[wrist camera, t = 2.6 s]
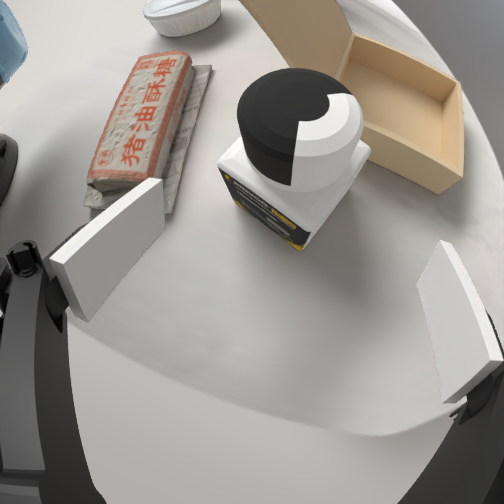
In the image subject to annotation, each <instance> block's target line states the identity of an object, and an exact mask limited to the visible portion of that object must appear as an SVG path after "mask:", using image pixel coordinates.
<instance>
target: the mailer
mask: <svg viewBox="0 0 504 504" xmlns="http://www.w3.org/2000/svg"><path fill="white" fill-rule="evenodd" d="M239 1H240V2H241V3H242V5H243V6H244V7H245V8H246V9H247V10H248V12H249V13H250V14H251V15H252V17H253V18H254V19H255V20H256V21H257V23H258V24H259V25H260V27H261V28H262V29H263V30H264V32H265V33H266V34H267V36H268V37H269V38H270V40H271V41H272V42H273V44H274V45H275V47H276V48H277V49H278V51H279V52H280V53H281V55H282V56H283V58H284V59H285V61H286V62H287V64H288V65H289V67H290V68H304V69H311V70H315V71H318V72H321V73H324V74H326V75H329V76H331V77H333V78H334V79H336V80H337V81H339V82H340V83H341V84H343V85H344V86H345V87H346V88H347V89H348V90H349V91H350V92H351V93H352V94H353V96H354V97H355V98H356V100H357V102H358V103H359V105H360V108H361V110H362V114H363V122H364V125H363V131H362V134H361V137H360V140H361V141H363V142H364V143H365V144H367V145H368V146H369V147H370V148H371V153H370V155H369V157H368V159H367V160H369V161H371V162H373V163H375V164H378V165H380V166H382V167H384V168H386V169H388V170H391V171H393V172H395V173H397V174H399V175H401V176H403V177H405V178H407V179H409V180H411V181H413V182H415V183H417V184H419V185H420V186H422V187H424V188H426V189H428V190H430V191H432V192H433V193H435V194H437V195H440V194H441V193H442V192H444V191H445V190H447V189H448V188H449V187H451V186H452V185H454V184H455V183H456V182H458V181H459V180H460V179H462V178H463V168H464V117H463V102H462V91H461V83H460V82H458V81H457V80H455V79H454V78H452V77H450V76H449V75H447V74H445V73H443V72H442V71H440V70H438V69H436V68H435V67H433V66H431V65H429V64H427V63H425V62H423V61H421V60H419V59H417V58H415V57H413V56H411V55H409V54H407V53H405V52H402V51H400V50H398V49H396V48H393V47H391V46H389V45H386V44H384V43H381V42H379V41H376V40H373V39H371V38H368V37H365V36H362V35H359V34H356V33H353V32H352V31H351V28H350V26H349V24H348V22H347V20H346V18H345V16H344V14H343V12H342V11H341V9H340V7H339V5H338V3H337V1H336V0H239Z"/></svg>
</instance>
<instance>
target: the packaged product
mask: <svg viewBox="0 0 504 504" xmlns="http://www.w3.org/2000/svg"><path fill="white" fill-rule="evenodd" d="M191 64H192V61H191V58H190V56H189V54H188V53H185V52H180V51H177V50H173V51H171V52H164V53H154V54H149V55H144V56H141V57H139V59H138V61H137V62H136V64H135V66H134V67H133V69H132V71H131V73H130V74H129V77H128V79H127V81H126V83H125V84H124V86H123V89H122V90H121V92H120V94H119V96H118V98H117V100H116V102H115V105H114V108H113V109H112V111H111V113H110V116H109V119H108V121H107V123H106V126H105V128H104V131H103V134H102V136H101V138H100V141H99V144H98V146H97V149H96V152H95V156H94V158H93V160H92V162H91V165H90V169H89V171H88V176H87V185H88V189H87V193H86V197H85V200H84V203H83V206H87V207H91V208H95V209H107V208H108V207H110V206H111V205H112V204H114V203H115V202H116V201H117V200H119V199H120V198H121V197H123V196H124V195H125V194H127V193H128V192H130V191H131V190H132V189H134V188H135V187H136V186H138V185H139V184H141V183H142V182H144V181H145V180H146V179H148V178H156V179H163V196H164V212H165V214H172V210H173V206H174V202H175V198H176V194H177V190H178V185H179V181H180V176H181V172H182V166H183V161H184V158H185V154H186V151H187V148H188V144H189V141H190V138H191V134H192V130H193V128H194V125H195V122H196V120H197V115H198V113H199V108H200V102H201V99H202V97H203V94H204V91H205V88H206V85H207V82H208V79H209V75H210V71H211V69H212V65H197V66H192V65H191Z"/></svg>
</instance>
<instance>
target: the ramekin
mask: <svg viewBox="0 0 504 504" xmlns="http://www.w3.org/2000/svg"><path fill="white" fill-rule="evenodd" d="M220 13H221V0H150V1H148V2H147V3H146V5H145V6H144V8H143V15H144V17H145V18H146V19H147V20H149V21H150V23H151V24H152V25H153V27H154V28H155V29H156V30H157V32H159V33H160V34H162V35H165V36H168V37H180V36H186V35H190V34H193V33H196V32H199V31H201V30H203V29H205V28H207V27H209V26H210V25H212V24H213V23H214V22H215V21H216V20H217V19H218V17H219V16H220Z"/></svg>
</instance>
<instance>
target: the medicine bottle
mask: <svg viewBox="0 0 504 504" xmlns="http://www.w3.org/2000/svg"><path fill="white" fill-rule="evenodd" d="M237 119H238V124H239V128H240V132H241V136H240V137H239V138H238V139H237V140H236V141H235V142H234V144H233V145H232V146H231V147H230V148H229V149H228V150H227V151H226V152H225V153H224V154H223V155H222V156H221V157H220V158H219V160H218V161H217V166H218V168H219V170H220V173H221V175H222V177H223V179H224V181H225V183H226V185H227V188H228V190H229V192H230V194H231V196H232V198H233V200H234V202H235V203H237V204H238V205H239V206H241V207H242V208H243V209H245V210H246V211H247V212H249V213H250V214H251V215H253V216H254V217H255V218H257V219H258V220H259V221H261V222H262V223H263V224H265V225H266V226H267V227H269V228H270V229H271V230H273V231H274V232H275V233H276V234H278V235H279V236H280V237H282V238H283V239H284V240H286V241H287V242H288V243H289V244H291V245H292V246H293V247H295V248H296V249H297V250H299V251H301V250H303V249H304V248H305V247H306V246H307V244H308V243H309V242H310V240H311V239H312V238H313V237H314V235H315V234H316V233H317V231H318V230H319V229H320V227H321V226H322V225H323V223H324V222H325V221H326V219H327V218H328V217H329V215H330V214H331V213H332V211H333V210H334V209H335V207H336V206H337V205H338V203H339V202H340V201H341V199H342V198H343V197H344V195H345V194H346V193H347V191H348V190H349V188H350V187H351V185H352V183H353V182H354V180H355V178H356V177H357V175H358V174H359V172H360V170H361V169H362V167H363V165H364V164H365V162H366V160H367V159H368V157H369V155H370V153H371V148H370V147H369V146H368V145H367V144H365V143H364V142H363V141H361V140H360V137H361V134H362V131H363V125H364V122H363V114H362V110H361V108H360V105H359V103H358V102H357V100H356V98H355V97H354V96H353V94H352V93H351V92H350V91H349V90H348V89H347V88H346V87H345V86H344V85H343V84H341V83H340V82H339V81H337V80H336V79H334V78H333V77H331V76H329V75H326V74H324V73H321V72H318V71H315V70H311V69H304V68H287V69H281V70H277V71H273V72H271V73H268V74H266V75H264V76H262V77H260V78H259V79H257V80H256V81H255V82H253V83H252V84H251V85H250V86H249V87H248V88H247V89H246V90H245V91H244V93H243V94H242V96H241V98H240V100H239V103H238V108H237Z"/></svg>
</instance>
